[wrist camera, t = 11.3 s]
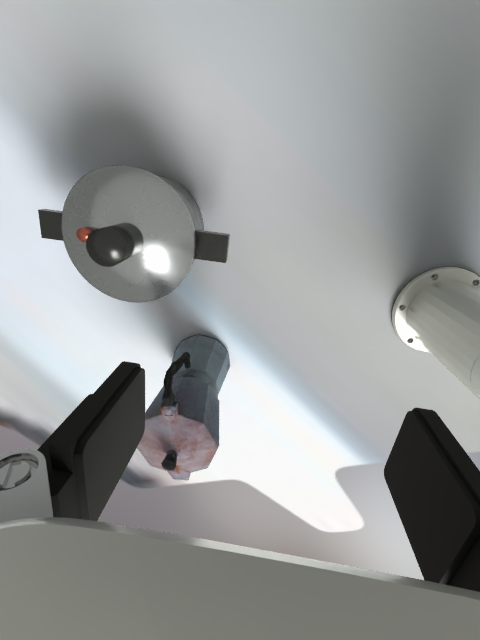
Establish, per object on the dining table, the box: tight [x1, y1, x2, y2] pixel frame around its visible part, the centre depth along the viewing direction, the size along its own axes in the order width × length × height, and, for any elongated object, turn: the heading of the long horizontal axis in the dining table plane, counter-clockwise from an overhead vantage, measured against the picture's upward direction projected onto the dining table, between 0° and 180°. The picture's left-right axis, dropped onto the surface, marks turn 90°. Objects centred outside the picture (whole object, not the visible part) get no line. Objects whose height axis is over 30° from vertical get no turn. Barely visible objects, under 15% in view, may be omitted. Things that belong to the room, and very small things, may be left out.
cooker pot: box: [38, 176, 230, 263], centre depth 38 cm, size 21×13×9 cm, turn 83°
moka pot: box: [137, 335, 230, 480], centre depth 40 cm, size 10×15×20 cm, turn 6°
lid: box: [62, 165, 196, 302], centre depth 31 cm, size 14×14×6 cm
